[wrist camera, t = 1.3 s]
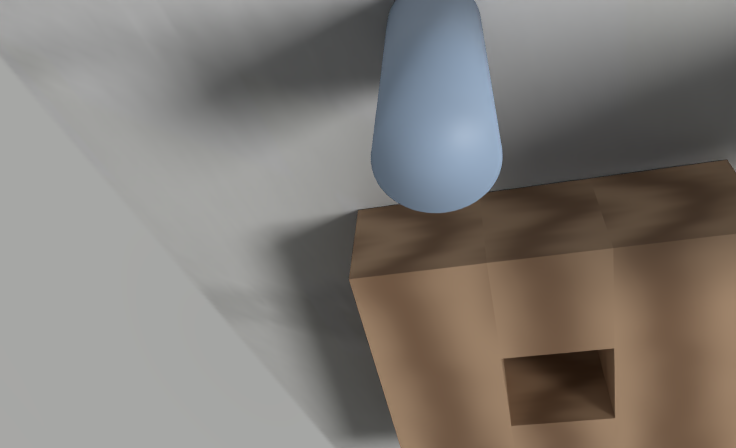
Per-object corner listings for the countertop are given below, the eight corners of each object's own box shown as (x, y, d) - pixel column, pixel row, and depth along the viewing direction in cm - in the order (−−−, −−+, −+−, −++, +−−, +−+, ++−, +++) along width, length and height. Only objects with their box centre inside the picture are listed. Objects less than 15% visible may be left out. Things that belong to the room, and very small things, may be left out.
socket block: (727, 159, 37) (771, 229, 32) (702, 401, 48) (732, 479, 44) (358, 210, 40) (348, 279, 36) (417, 423, 52) (416, 497, 47)
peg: (474, -29, 32) (495, 91, 22) (486, 62, 34) (508, 204, 25) (378, -10, 33) (358, 113, 23) (396, 77, 35) (385, 220, 26)
